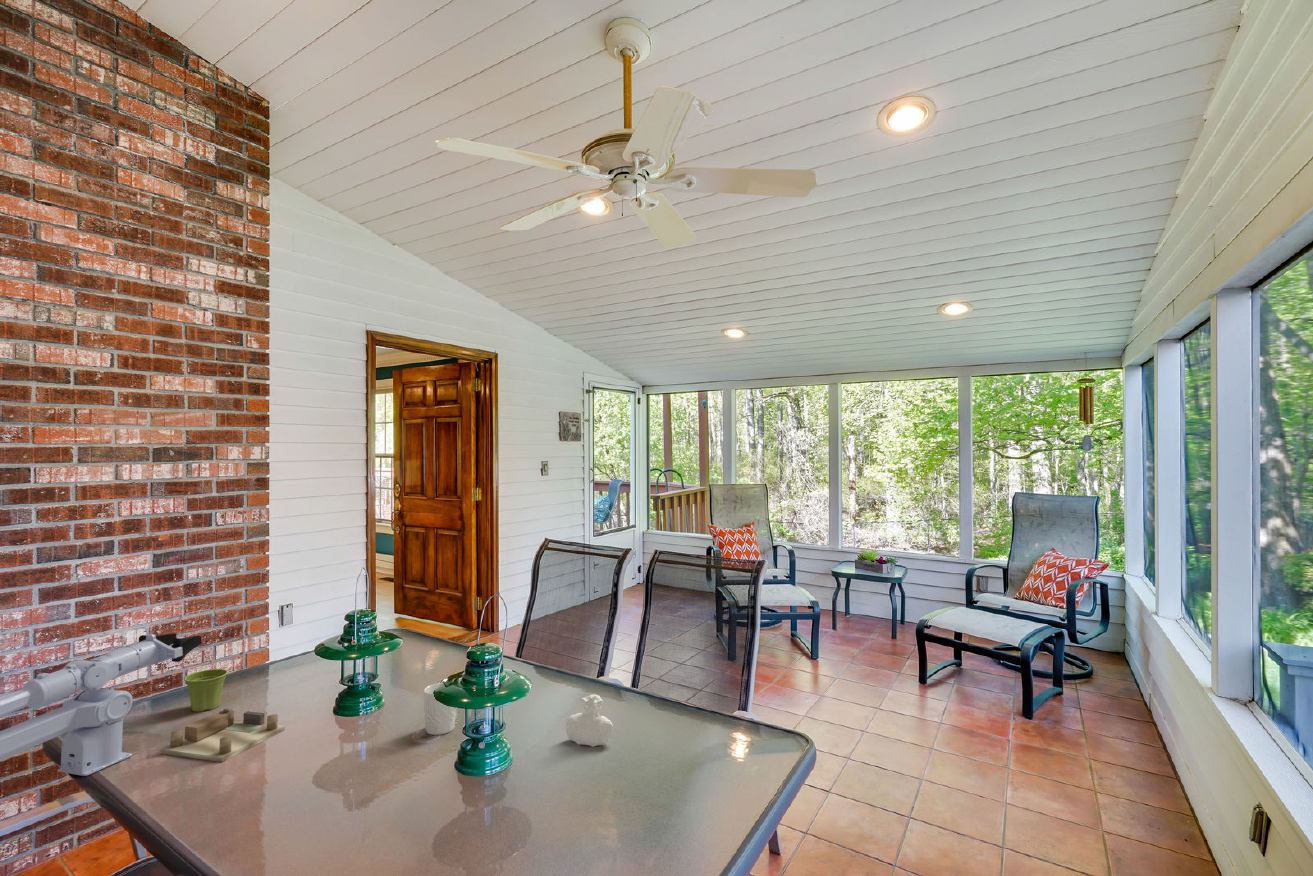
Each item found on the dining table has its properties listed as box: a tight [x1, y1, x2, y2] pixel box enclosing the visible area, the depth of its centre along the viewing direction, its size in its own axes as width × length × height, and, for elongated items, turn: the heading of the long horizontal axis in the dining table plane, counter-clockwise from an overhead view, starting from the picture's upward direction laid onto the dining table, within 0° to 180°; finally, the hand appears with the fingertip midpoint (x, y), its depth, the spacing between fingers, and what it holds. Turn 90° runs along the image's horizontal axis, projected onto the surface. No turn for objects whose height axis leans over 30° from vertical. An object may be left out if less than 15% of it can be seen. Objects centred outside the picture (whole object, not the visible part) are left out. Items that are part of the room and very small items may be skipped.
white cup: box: [423, 682, 457, 736], centre depth 154 cm, size 8×8×10 cm
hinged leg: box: [184, 708, 235, 741], centre depth 149 cm, size 11×4×4 cm, turn 167°
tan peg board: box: [160, 711, 286, 763], centre depth 146 cm, size 17×17×4 cm
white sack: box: [565, 693, 614, 748], centre depth 149 cm, size 12×8×11 cm
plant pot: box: [184, 668, 229, 712], centre depth 166 cm, size 9×9×9 cm
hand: (187, 638), depth 155 cm, fingers open, 7 cm apart
